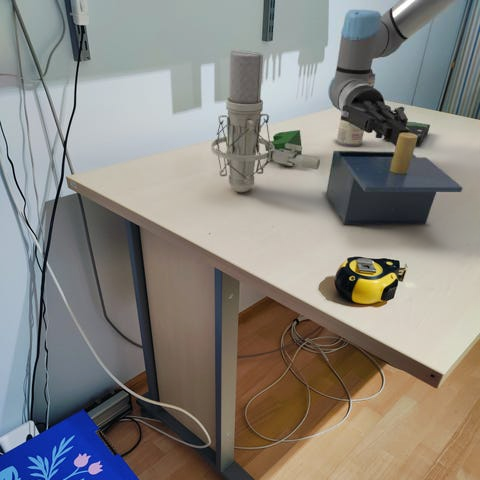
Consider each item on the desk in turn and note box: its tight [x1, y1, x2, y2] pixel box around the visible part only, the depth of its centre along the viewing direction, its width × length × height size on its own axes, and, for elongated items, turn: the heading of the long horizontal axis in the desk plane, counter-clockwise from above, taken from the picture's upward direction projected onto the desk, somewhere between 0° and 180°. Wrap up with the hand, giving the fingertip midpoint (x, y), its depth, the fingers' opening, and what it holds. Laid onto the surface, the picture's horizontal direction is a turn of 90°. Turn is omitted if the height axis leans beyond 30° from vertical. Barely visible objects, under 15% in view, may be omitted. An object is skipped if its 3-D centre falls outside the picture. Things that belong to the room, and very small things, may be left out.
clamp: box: [264, 129, 303, 167], centre depth 103 cm, size 12×6×9 cm, turn 153°
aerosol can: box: [336, 68, 376, 148], centre depth 111 cm, size 7×7×20 cm
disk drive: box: [383, 121, 431, 147], centre depth 123 cm, size 10×3×15 cm
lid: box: [341, 133, 464, 193], centre depth 72 cm, size 16×14×7 cm
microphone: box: [210, 49, 321, 193], centre depth 80 cm, size 12×22×25 cm, turn 61°
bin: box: [325, 150, 437, 226], centre depth 82 cm, size 16×14×9 cm
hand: (402, 138), depth 72 cm, fingers closed
